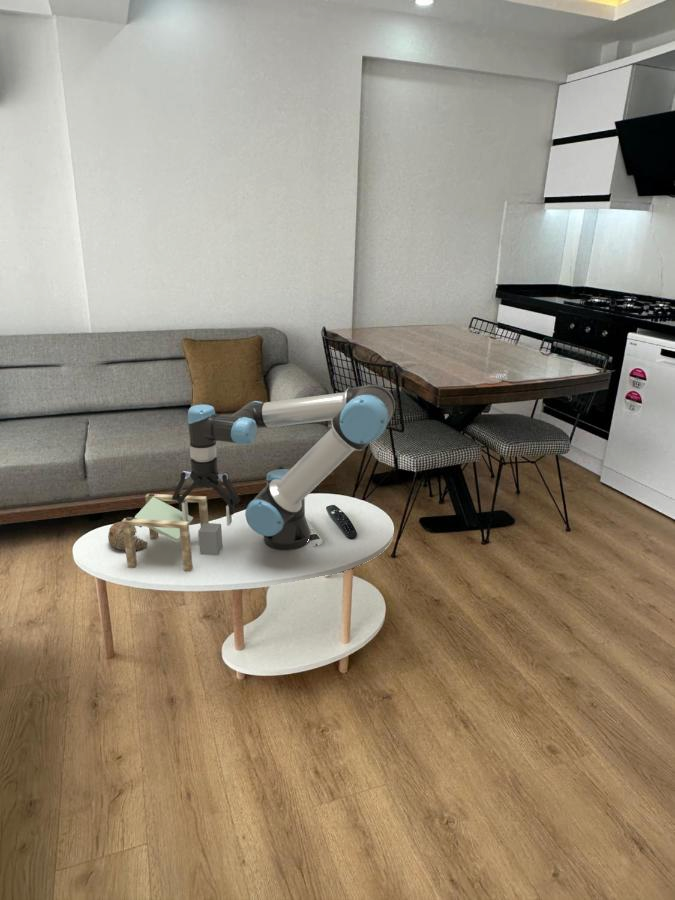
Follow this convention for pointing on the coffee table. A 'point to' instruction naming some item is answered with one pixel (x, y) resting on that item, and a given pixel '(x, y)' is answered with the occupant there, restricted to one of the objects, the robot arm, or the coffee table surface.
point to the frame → (183, 526)
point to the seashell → (118, 539)
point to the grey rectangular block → (210, 539)
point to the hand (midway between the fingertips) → (207, 522)
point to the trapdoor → (162, 517)
